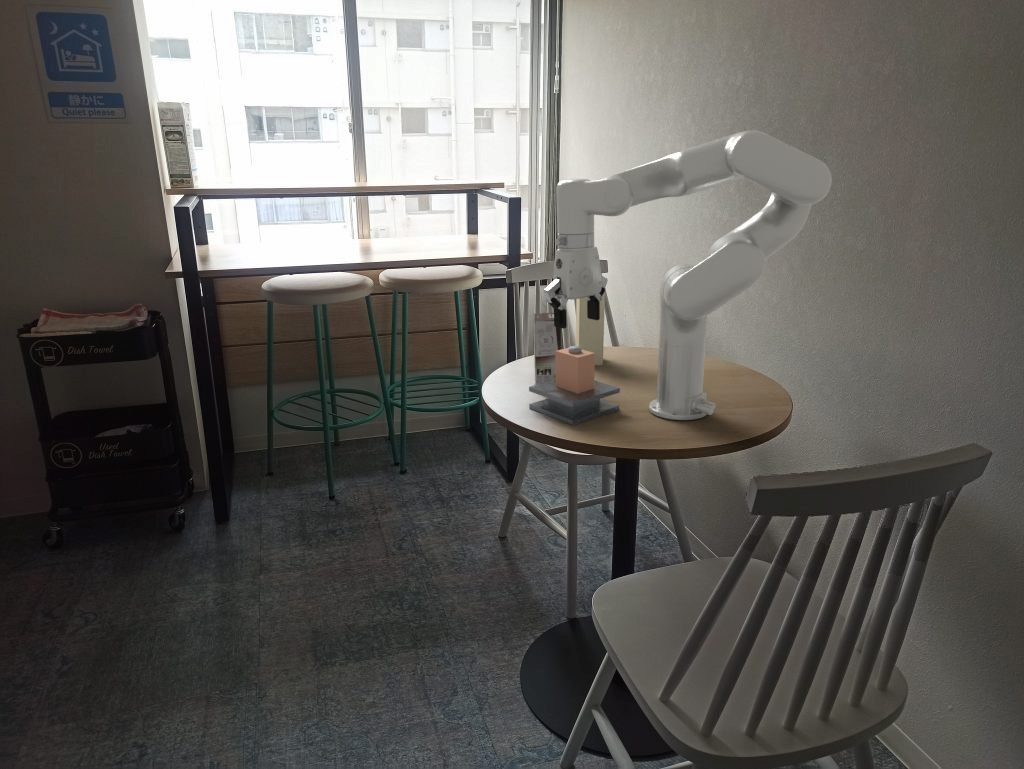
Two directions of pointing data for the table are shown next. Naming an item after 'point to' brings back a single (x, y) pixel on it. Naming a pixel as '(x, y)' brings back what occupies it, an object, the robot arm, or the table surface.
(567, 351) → the block
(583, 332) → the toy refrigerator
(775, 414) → the table surface
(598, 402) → the stand
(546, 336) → the coffee box
